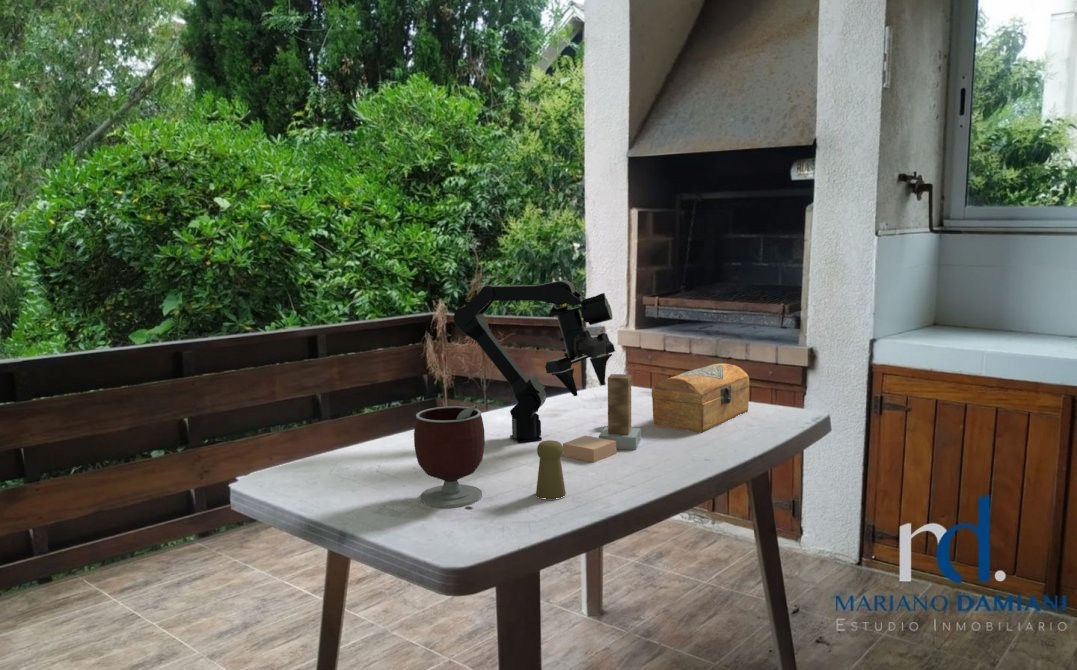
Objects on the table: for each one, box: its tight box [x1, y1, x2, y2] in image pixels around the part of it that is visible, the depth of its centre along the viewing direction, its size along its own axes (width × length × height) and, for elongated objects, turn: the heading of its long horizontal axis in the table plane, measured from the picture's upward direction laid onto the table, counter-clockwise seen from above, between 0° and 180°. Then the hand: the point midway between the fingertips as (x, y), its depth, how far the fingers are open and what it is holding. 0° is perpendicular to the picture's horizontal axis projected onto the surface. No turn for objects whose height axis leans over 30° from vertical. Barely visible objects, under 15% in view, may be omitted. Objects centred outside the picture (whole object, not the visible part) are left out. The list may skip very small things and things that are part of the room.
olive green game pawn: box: [535, 439, 567, 499], centre depth 156 cm, size 6×6×11 cm
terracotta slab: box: [562, 435, 617, 463], centre depth 185 cm, size 9×9×3 cm
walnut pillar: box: [607, 373, 632, 435], centre depth 192 cm, size 5×5×14 cm
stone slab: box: [598, 426, 642, 451], centre depth 193 cm, size 9×9×3 cm
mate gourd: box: [413, 404, 486, 509], centre depth 155 cm, size 16×14×20 cm
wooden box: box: [651, 363, 750, 434], centre depth 218 cm, size 30×16×14 cm, turn 141°
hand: (589, 390), depth 195 cm, fingers open, 9 cm apart
